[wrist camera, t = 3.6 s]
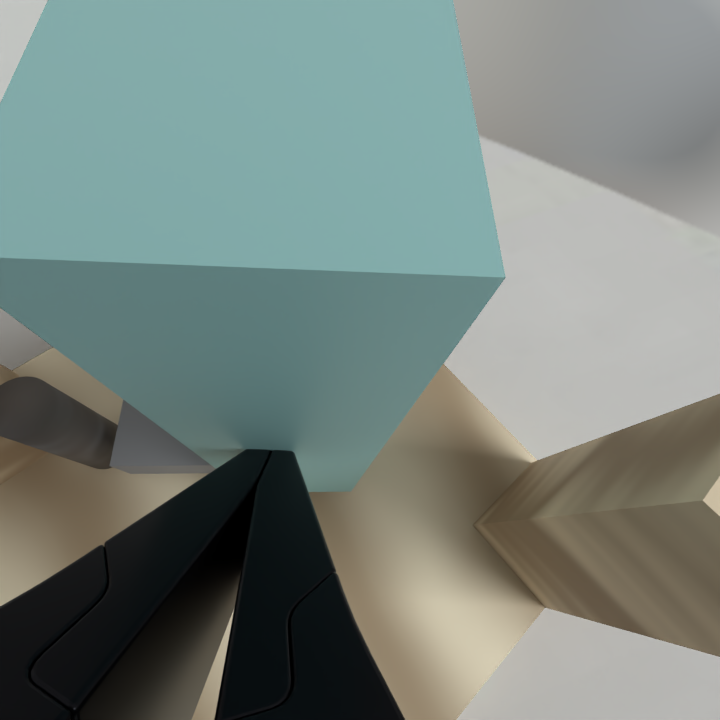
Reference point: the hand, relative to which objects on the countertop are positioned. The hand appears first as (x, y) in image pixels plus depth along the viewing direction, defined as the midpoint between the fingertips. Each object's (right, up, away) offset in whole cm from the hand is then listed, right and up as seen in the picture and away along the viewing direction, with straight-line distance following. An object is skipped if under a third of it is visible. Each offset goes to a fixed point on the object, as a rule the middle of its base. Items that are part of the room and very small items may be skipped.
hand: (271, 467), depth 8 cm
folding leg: (-2, -1, +7) cm, 7 cm away
